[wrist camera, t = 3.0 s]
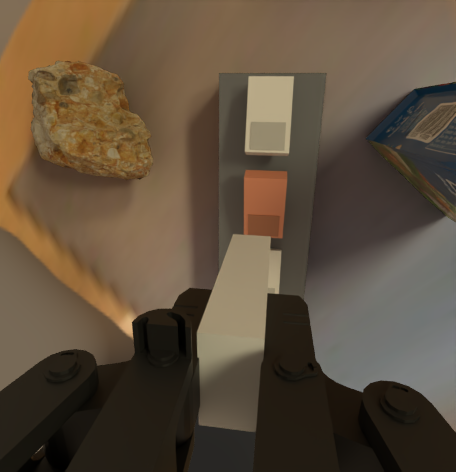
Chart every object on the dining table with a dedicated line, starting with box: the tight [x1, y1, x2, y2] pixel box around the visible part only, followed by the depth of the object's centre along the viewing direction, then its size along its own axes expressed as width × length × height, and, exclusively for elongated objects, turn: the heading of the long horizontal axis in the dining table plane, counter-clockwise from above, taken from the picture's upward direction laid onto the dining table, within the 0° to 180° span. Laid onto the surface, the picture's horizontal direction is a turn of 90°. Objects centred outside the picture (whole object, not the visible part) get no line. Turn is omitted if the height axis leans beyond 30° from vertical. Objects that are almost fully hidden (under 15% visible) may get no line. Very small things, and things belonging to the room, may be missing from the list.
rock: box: [28, 61, 153, 180], centre depth 33 cm, size 12×10×10 cm
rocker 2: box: [244, 170, 287, 238], centre depth 31 cm, size 6×4×2 cm, turn 179°
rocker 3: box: [268, 248, 281, 294], centre depth 34 cm, size 6×4×2 cm, turn 179°
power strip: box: [219, 73, 326, 300], centre depth 36 cm, size 27×9×6 cm, turn 179°
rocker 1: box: [245, 76, 294, 156], centre depth 28 cm, size 6×4×2 cm, turn 179°
